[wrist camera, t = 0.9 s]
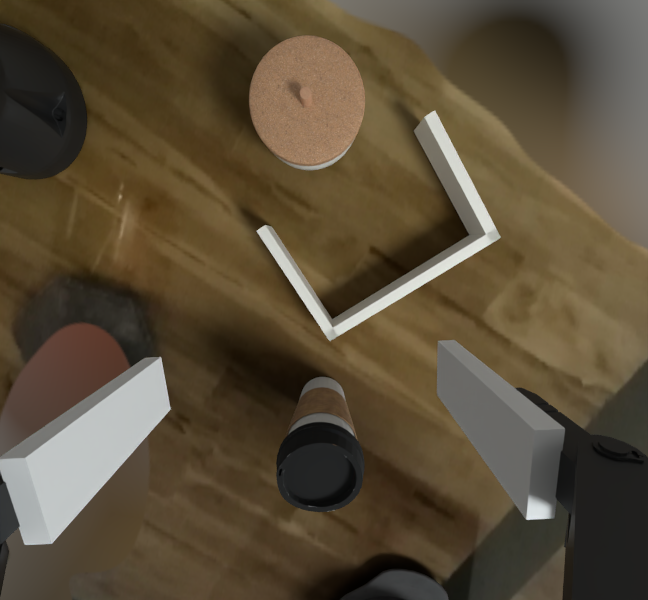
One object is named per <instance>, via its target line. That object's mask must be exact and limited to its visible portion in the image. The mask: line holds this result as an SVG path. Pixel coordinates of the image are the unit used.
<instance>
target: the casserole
mask: <svg viewBox="0 0 648 600" xmlns="http://www.w3.org/2000/svg"><path fill="white" fill-rule="evenodd" d="M339 600H448V595H447V592H446V591H445V590H444V588H443V587H442V586H441V585H440V584H439V583H437V582H436V581H435V580H434V579H432V578H430V577H428V576H426V575H425V574H422V573H419V572H416V571H412V570H407V569H389V570H386V571H383V572H381V573H380V574H378V575H377V576H376V577H374V578H373V579H372V580H370V581H369V582H368V583H367V584H365V585H363V586H361V587H359V588H357V589H355V590H353V591H351V592H349V593H348V594H346V595H344V596H343V597H342V598H341V599H339Z"/></svg>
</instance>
